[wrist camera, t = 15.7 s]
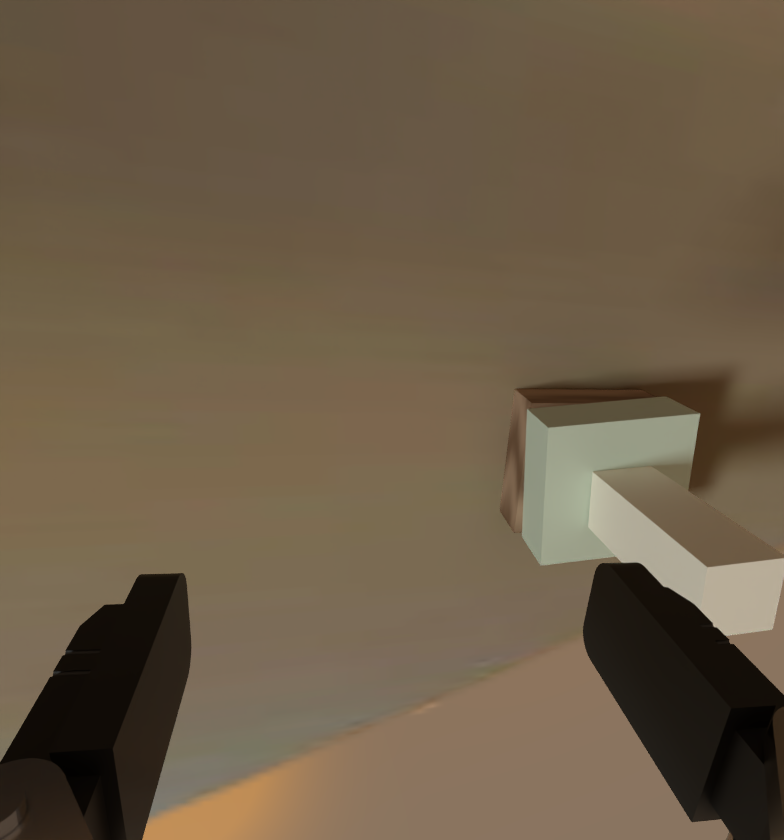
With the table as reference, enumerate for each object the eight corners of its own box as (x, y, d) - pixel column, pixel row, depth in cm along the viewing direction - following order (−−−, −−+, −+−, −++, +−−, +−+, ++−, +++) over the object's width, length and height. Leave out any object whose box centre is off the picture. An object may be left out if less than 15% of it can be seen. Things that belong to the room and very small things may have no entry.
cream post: (592, 471, 39) (707, 567, 27) (651, 466, 39) (787, 557, 28) (588, 527, 40) (695, 640, 29) (644, 520, 40) (772, 629, 29)
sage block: (527, 408, 41) (548, 427, 37) (666, 396, 42) (700, 413, 38) (521, 536, 45) (540, 565, 41) (649, 522, 46) (679, 548, 42)
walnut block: (513, 387, 44) (531, 403, 41) (639, 388, 46) (668, 403, 42) (498, 508, 48) (513, 532, 44) (615, 505, 50) (640, 528, 46)
